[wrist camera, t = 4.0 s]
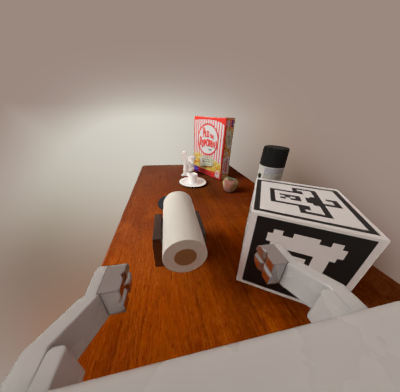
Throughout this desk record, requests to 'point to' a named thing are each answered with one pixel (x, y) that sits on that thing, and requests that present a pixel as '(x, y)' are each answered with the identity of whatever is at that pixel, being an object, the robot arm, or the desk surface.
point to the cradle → (159, 237)
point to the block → (309, 233)
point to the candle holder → (192, 180)
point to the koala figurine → (187, 163)
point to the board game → (213, 145)
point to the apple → (230, 184)
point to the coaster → (161, 202)
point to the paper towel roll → (181, 234)
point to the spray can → (272, 162)
